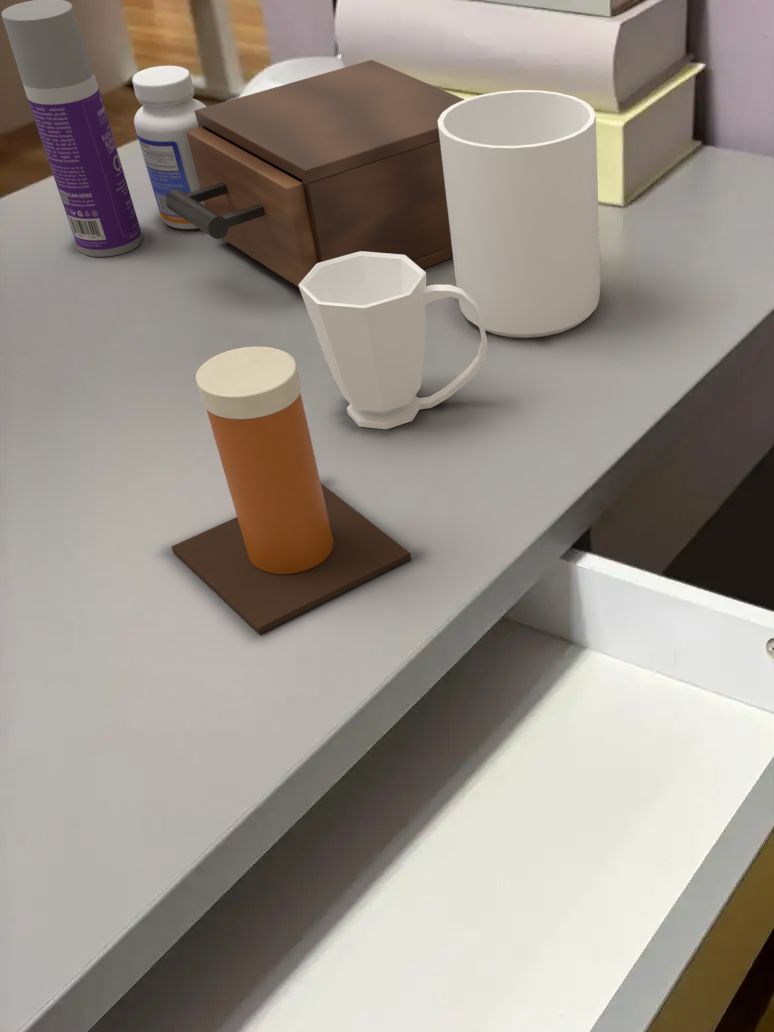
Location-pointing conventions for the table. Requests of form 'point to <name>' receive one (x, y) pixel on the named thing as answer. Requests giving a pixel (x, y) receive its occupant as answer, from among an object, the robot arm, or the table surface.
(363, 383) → the cup
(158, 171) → the pill bottle
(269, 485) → the spice jar
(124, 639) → the table surface
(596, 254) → the mug
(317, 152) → the cabinet
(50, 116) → the container
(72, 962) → the table surface
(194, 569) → the coaster
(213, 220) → the drawer
